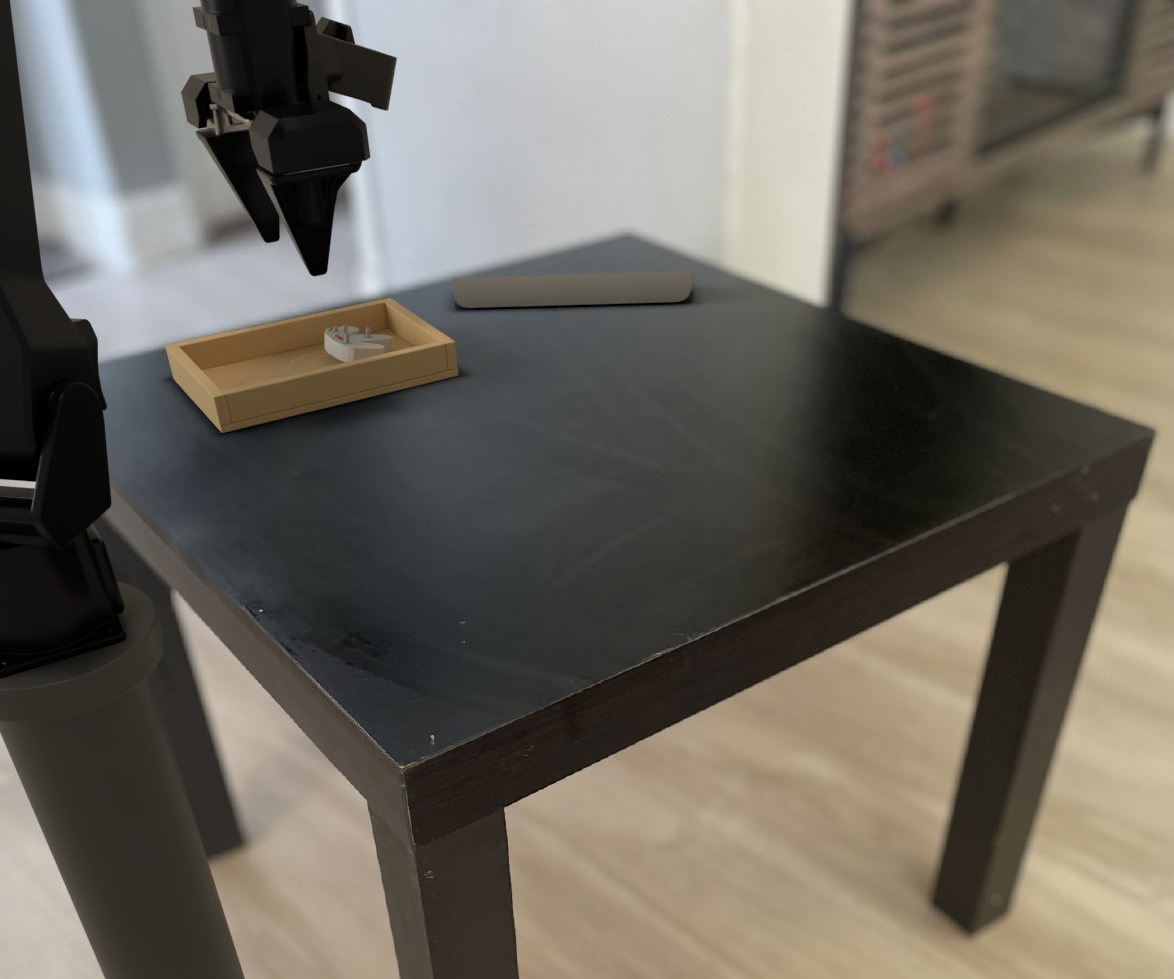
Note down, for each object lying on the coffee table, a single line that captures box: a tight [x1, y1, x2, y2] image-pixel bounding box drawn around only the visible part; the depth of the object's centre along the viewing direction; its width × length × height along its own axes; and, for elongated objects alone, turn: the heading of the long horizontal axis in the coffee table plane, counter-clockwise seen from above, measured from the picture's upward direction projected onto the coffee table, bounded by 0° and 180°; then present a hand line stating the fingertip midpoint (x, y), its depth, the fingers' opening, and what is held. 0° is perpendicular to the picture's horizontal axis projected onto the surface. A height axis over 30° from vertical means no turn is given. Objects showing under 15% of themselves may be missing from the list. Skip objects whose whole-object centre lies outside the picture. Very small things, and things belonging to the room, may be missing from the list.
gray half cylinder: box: [452, 270, 694, 309], centre depth 99 cm, size 4×20×2 cm, turn 89°
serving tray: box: [164, 297, 459, 434], centre depth 87 cm, size 18×12×2 cm, turn 121°
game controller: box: [238, 324, 393, 386], centre depth 87 cm, size 6×12×3 cm, turn 140°
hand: (294, 257), depth 83 cm, fingers open, 9 cm apart
